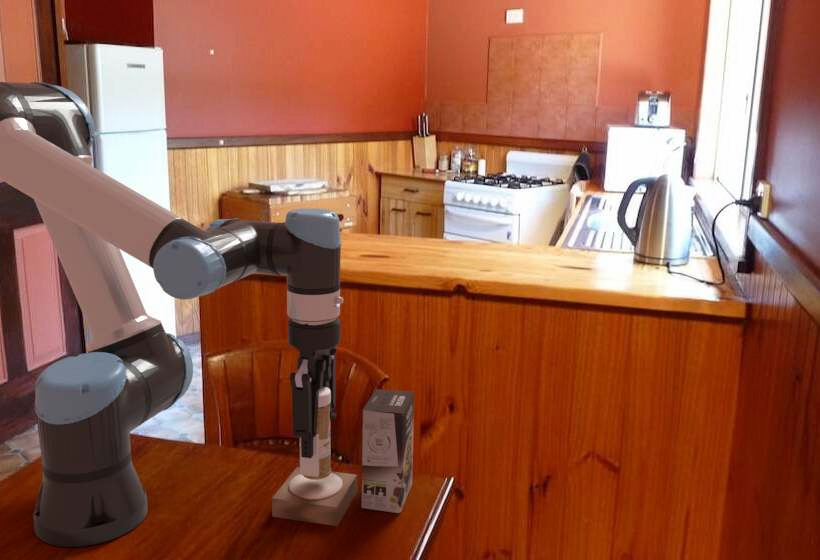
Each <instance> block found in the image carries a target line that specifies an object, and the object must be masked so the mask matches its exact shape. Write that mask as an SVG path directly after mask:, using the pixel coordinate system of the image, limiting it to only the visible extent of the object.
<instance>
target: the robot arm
mask: <svg viewBox="0 0 820 560" xmlns="http://www.w3.org/2000/svg"><path fill="white" fill-rule="evenodd" d="M94 135H95V123H94V119H93V116H92V114H91V112H90V110H89V107H88V106H87V105H86V104H85V102H84V101H83V100H82V99H81V98H80V96H78V95H77V94H76V93H74V92H73V91H72V90H69V89H67V88H66V87H64V86H60V85H57V84H56V85H55V84H54V85H53V84H50V83H46V82H40V81H39V82H38V81H37V82H34V81H33V82H17V81H16V82H13V81H0V183H1V184H2V183H6V184H8V185H10V186H11V187H12V188H14V189H15V190H18V191H20V193H23V194H25V195H27V196H28V197H30V198H32V199H33V200H34V203H35V205H36V208H37V209H38V213H39V215H40V217H41V219H42V222H43V224H44V226H45V229H46V231H47V233H48V235H49V238H50V240H51V242H52V243H51V244H53V247H54V249H55V251H56V254H57V257H58V259H59V261H60V263H61V265H62V268H63V271H64V274H65V275H66V278H67V280H68V283H69V285H70V286H71V289H72V291H73V294H74V297H75V299H76V301H77V302H78V306H79V307H80V310H81V313H82V315H83V317H84V319H85V321H86V323H87V327H88V329H89V331H90V333H91V338H90V339H91V340H90V341H89V344H88V346H87V349H86V352H85V353H79V354H78V355H77V356H68V357H66V358H62V359H60V360H58V361H56V362H53V363H52V364H51V365H49V366H48V367H46V368H45V369H44V370H42V372H41V373H40V374H39V376H38V377H37V380H36V382H35V390H34V391H35V398H34V412H35V413H36V414H35V415H36V423H37V431H38V432H37V433H38V440H39V450H40V458H41V466H42V467H41V468H42V480H41V484H40V489H39V491H38V496H37V500H36V502H35V507H34V510H33V517H32V518H33V526H34V527H33V528H34V533H35V535H36V536H37V538H38V539H39V540H41V541H43V542H44V543H46V544H49V545H53V546H56V547H62V548H63V547H65V548H67V547H68V548H75V547H77V548H79V547H80V548H81V547H87V546H92V545H93V546H95V545H98V544H101V543H106V542H109V541H112V540H115V539H117V538H119V537H121V536H123V535H125V534H127V533H129V532H130V531H132V530H133V529H135V528H136V527H137V526H138V525H140V524H141V523H142V522H143V520H144V519H145V517H146V516H147V514H148V511H149V510H148V497H147V496H148V495H147V492H146V490H145V488H144V485H142V483H141V481H140V478H139V476H138V473H137V471H136V469H135V467H134V464H133V462H132V461H133V460H132V452H131V451H132V449H131V436H130V434H131V432H132V431H134V430H136V428H138V427H140V426H141V425H143V424H145V423H146V422H148V421H149V420H151V419H152V418H154V417H155V416H157V415H158V414H160V413H161V412H163V411H166V410H168V409H170V408H171V407H173V405H174V404H175V403H176V402H178V400H179V399H181V398H182V397H183V396H184V395H185V394H186V392H188V390H189V387H190V385H191V383H192V380H193V376H194V362H193V359H192V355H191V352H190V351H189V349H188V347H187V345H186V344H185V342H183V341H182V340H181V339H180V338H179V339H178V338H176V336H175V335H174V334H172V333H169V332H166V330H165V328H164V327H163V324H162V321H161V320H159V319H157V318H154V317H152V316H150V315H148V313H147V312H146V309H145V306H144V305H143V302H142V300H141V297H140V295H139V292H138V289H137V288H136V285H135V283H134V280H133V278H132V276H131V272H130V271H129V268H128V265H127V264H126V261H125V259H124V257H123V254H122V252H124V253H126V254H128V255H129V256H131V257H133V258H134V259H136V260H138V261H140V262H141V263H142V264H145V265H147V266H148V267H150V268H152V269H153V275H154V278H155V280H156V283H158V284H159V287H160V288H161V289H162V291H163V292H164V293H165V294H167V295H168V296H170V297H172V298H173V299H174V298H175V299H178V300H192V299H195V298H199V297H203V296H206V295H209V294H211V293H214V292H216V291H217V290H219V289H220V288H222V287H225V286H227V285H229V284H232V283H235V282H236V281H239V280H241V279H244V278H245V277H248V276H250V275H254V274H256V275H257V274H262V275H272V276H273V275H276V276H286V287H287V289H286V293H287V294H286V296H287V297H286V298H287V299H286V305H287V306H286V308H287V309H286V311H287V312H286V314H287V317H288V318H289V320H288V321H287V341H288V344H289V346H291V347H292V348H294V349H296V350H297V351H298V352H299V355H298V358H297V363H296V369H297V372H292V371H291V373H290V374H289V375H290V376H289V381H290V386H291V387H290V388H291V402H292V403H291V406H292V407H291V409H292V410H291V411H292V436H293V437H295V438H299V467H300V475H306V476H314V477H318V476H319V434H316V429H317V414H318V397H319V390H320V389H322V387H327V388H329V389H330V391H331V402H330V419H334V420H335V419H336V417H337V411H336V412H335V411H332V410H335V409H336V405H337V404H336V372H337V371H336V365H337V364H336V362H337V354H338V349H337V346H338V345H339V344H340V342H341V339H342V338H341V325H342V324H341V320H340V318H339V316H340V315H341V305H342V304H343V303H344V302H345V301H344V297H343V296H341V253H342V251H341V249H342V248H341V247H342V240H341V228H340V226H341V225H340V218H339V216H338V214H337V213H336V212H335V211H333V210H330V209H326V208H325V209H324V208H297V209H292V210H289V211H287V213H286V216H285V221H284V222H276V221H275V222H273V221H260V220H248V219H241V218H237V217H236V218H235V217H234V218H232V219H231V218H230V219H229V218H226V219H224V218H222V219H221V218H220V219H216V220H213V221H212V222H210V224H209V227H207V228H206V230H203V229H202V228H200V227H198V226H197V225H194V224H193V223H191V222H189V221H188V220H185V219H184V218H182V217H181V216H179V215H177V214H175V213H173V212H172V211H170V210H168V209H167V208H165V207H163V206H162V205H160V204H158V203H157V202H155V201H153V200H151V199H149V198H147V197H146V196H144V195H143V194H141V193H139V192H137V191H136V190H134V189H133V188H131V187H128V186H127V185H125V184H124V183H121V182H120V181H119V180H117V179H115V178H113V177H111V176H109V175H108V174H106V173H105V172H102V171H101V170H99V169H97V168H95V167H94V166H92V163H93V161H94V158H93V156H92V153H91V151H90V149H91V146H93V143H94V139H93V136H94ZM330 449H331V447H330ZM331 454H332V453H331V452H330V460H331V458H332V457H331Z"/></svg>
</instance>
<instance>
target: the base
mask: <svg viewBox="0 0 820 560" xmlns="http://www.w3.org/2000/svg"><path fill="white" fill-rule="evenodd" d="M357 493H358V474H355V473H347V472H339V471H332V470H331V473H330V474H329V476H327V477H325V478H323V479H318V480H314V479H313V480H311V479H308V478H306V477H304V476H303V475H300V466H297V467H296V468H295V469H294V470H293V472H291V474H290V475H289V476H288V477H287V479H286V480H284V483H283V484H282V485H281V486H280V487H279V489H278V490H277V491H276V492H275V493H274V495H273V496H272V498H271V512H272V513H271V514H272V518H279V519H280V518H281V519H286V520H293V521H300V522H305V523H306V522H307V523H313V524H314V523H315V524H320V525H328V526H333V527H338V525H340V521H341V520H342V518H343V517H344V515H345V514H346V512H347V510H348V509H349V507H350V505H351V503H352V501H353V500H354V498H355V496H356V495H357Z"/></svg>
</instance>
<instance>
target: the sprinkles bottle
mask: <svg viewBox="0 0 820 560" xmlns="http://www.w3.org/2000/svg"><path fill="white" fill-rule="evenodd" d="M330 402H331V391H330V389H329V388H327V387H322V389H320V390H319V397H318V414H317V429H316V434H319V476H318V477H314V476H306V475H303V476H304V477H306V478H308V479H311V480H313V479H314V480H318V479H323V478H325V477H327V476H329V474H330V473H331V471H332V468H331V459H330V452H331V449H330V448H331V418H330Z"/></svg>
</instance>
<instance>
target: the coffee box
mask: <svg viewBox="0 0 820 560" xmlns="http://www.w3.org/2000/svg"><path fill="white" fill-rule="evenodd" d="M414 412H415V391H406V390H398V389H397V390H396V389H394V390H393V389H389V390H388V389H381V388H380V389H379V388H376V389H375V391H374V392H373V393H372V395H371V396H370V398H369V400H367V403H366V404H365V406H364V407H363V409H362V430H361V431H362V433H361V434H362V437H361V438H362V439H361V441H362V442H361V443H362V444H361V451H362V453H361V508H362V509H366V510H374V511H381V512H388V513H393V514H400V513H402V510H403V508H404V506H405V503H406V500H407V499H408V495H409V493H410V490H411V488H412V485H413V468H414V467H413V465H414V464H413V463H414V457H413V456H414V421H415V419H414V418H415V417H414V415H415V413H414Z"/></svg>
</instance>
